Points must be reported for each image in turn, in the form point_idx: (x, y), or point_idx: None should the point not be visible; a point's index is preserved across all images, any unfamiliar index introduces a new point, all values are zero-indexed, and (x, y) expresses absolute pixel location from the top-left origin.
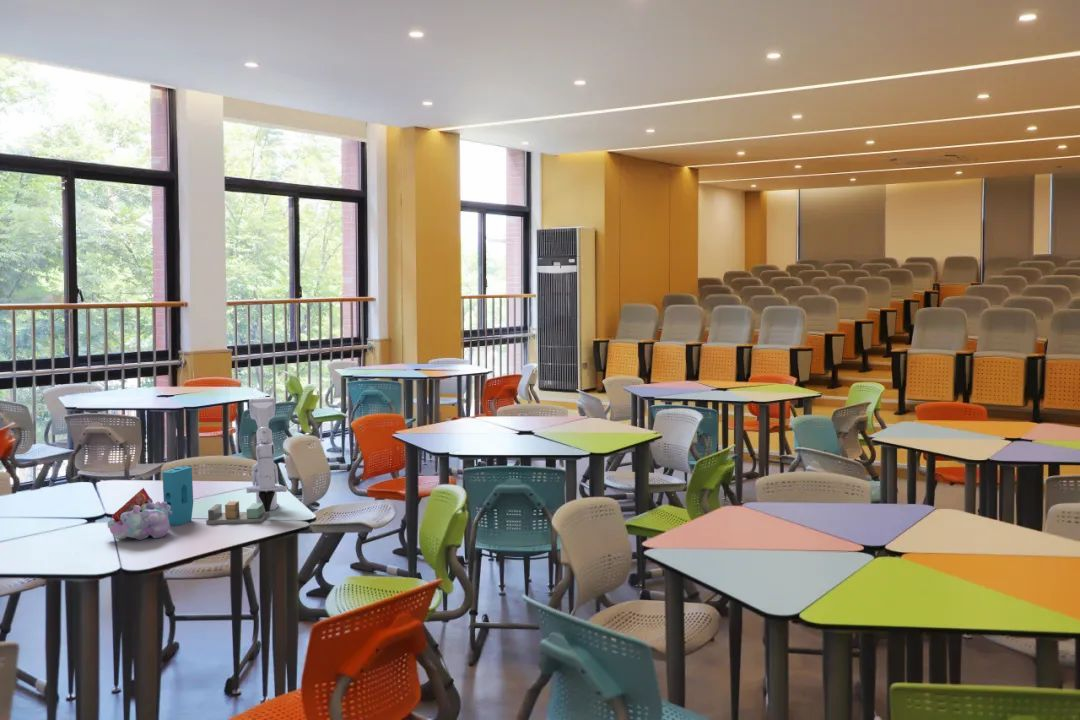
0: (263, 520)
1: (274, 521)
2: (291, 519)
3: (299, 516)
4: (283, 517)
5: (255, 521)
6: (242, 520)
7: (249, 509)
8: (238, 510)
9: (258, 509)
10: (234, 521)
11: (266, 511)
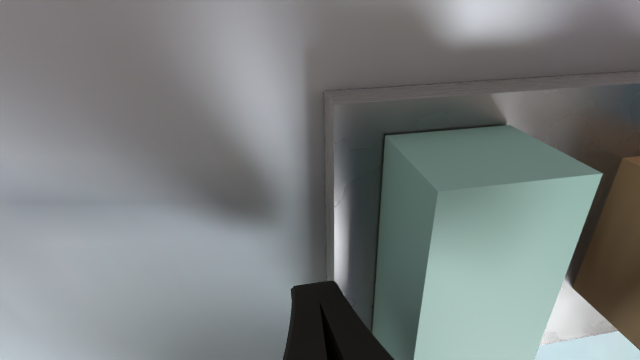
0: (325, 183)
1: (186, 149)
2: (14, 234)
3: (2, 342)
4: (162, 301)
5: (395, 91)
6: (545, 85)
7: (555, 176)
8: (615, 297)
9: (420, 232)
10: (618, 78)
11: (319, 284)
